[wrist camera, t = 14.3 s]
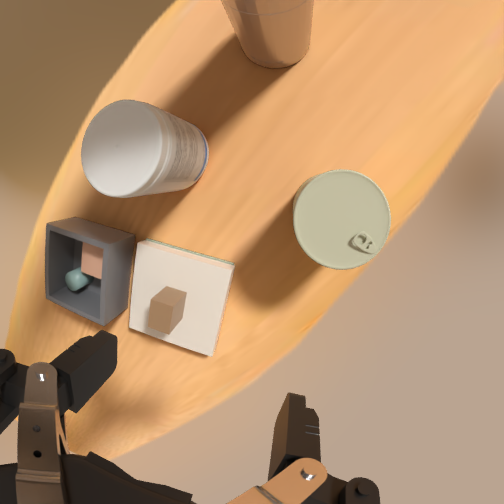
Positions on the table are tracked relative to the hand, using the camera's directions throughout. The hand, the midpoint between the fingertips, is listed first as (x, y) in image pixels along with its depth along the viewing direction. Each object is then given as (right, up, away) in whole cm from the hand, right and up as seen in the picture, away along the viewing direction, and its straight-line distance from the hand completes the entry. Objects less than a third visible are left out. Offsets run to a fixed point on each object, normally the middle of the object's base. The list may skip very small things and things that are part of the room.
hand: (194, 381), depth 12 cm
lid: (-8, -1, +30) cm, 31 cm away
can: (+12, +11, +25) cm, 30 cm away
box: (-21, +4, +31) cm, 38 cm away
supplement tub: (-8, +18, +26) cm, 33 cm away
